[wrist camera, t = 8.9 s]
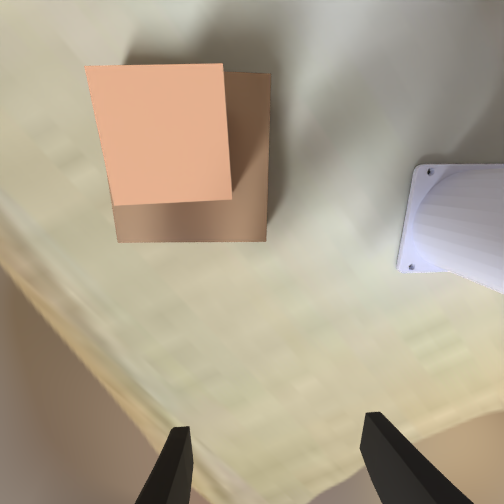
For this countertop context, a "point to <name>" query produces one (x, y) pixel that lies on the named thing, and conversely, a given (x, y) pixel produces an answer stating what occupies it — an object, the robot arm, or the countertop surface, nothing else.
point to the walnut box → (242, 172)
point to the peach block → (163, 131)
